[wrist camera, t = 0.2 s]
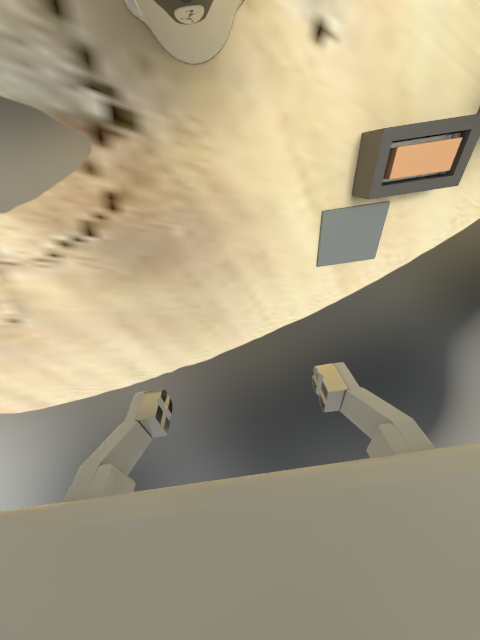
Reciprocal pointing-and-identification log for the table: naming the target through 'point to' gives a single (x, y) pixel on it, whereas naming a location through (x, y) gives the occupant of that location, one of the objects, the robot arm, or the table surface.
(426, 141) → the plate
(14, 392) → the table surface
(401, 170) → the tile
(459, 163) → the pocket block
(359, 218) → the mat
